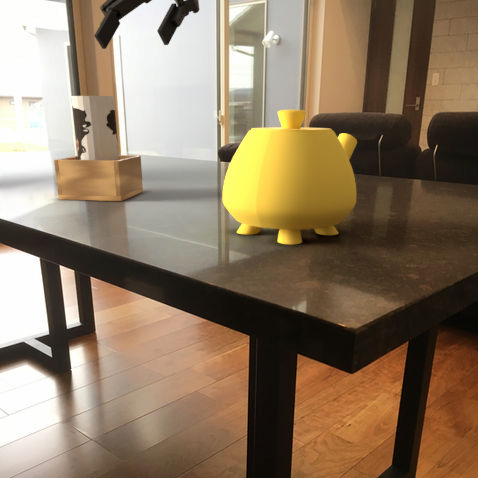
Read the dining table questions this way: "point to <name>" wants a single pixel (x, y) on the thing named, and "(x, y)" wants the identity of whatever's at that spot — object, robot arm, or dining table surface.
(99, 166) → the box
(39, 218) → the dining table surface
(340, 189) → the teapot
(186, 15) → the robot arm
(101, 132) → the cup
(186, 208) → the dining table surface
